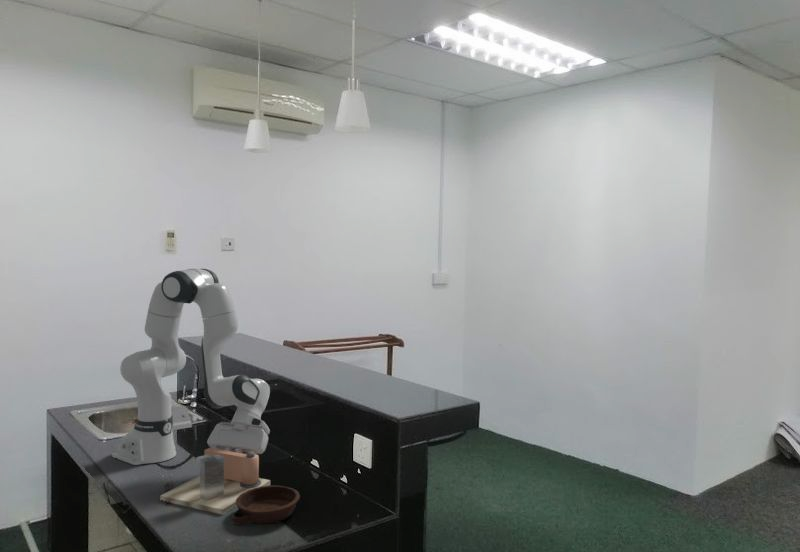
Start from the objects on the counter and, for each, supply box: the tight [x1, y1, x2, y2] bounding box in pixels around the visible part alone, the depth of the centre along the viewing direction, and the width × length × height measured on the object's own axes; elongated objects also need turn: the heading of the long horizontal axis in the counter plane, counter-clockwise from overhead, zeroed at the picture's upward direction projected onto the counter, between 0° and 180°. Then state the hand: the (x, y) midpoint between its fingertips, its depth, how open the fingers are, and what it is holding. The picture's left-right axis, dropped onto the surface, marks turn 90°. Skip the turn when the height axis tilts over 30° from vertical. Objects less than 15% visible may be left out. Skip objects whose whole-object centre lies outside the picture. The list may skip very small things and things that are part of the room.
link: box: [203, 447, 260, 485], centre depth 186 cm, size 20×5×9 cm, turn 68°
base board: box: [159, 475, 271, 516], centre depth 180 cm, size 23×23×2 cm
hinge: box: [171, 405, 193, 431], centre depth 243 cm, size 17×5×10 cm, turn 127°
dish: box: [231, 484, 301, 525], centre depth 166 cm, size 17×22×5 cm
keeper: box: [196, 454, 224, 500], centre depth 174 cm, size 6×5×12 cm
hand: (228, 462), depth 189 cm, fingers closed
